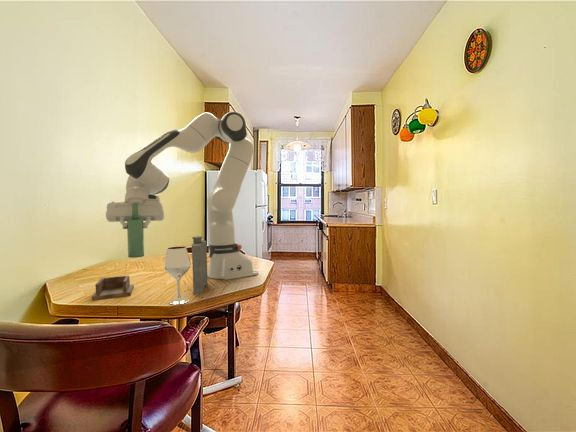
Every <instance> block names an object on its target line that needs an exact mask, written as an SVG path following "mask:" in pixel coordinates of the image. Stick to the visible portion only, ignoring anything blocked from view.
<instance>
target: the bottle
mask: <svg viewBox="0 0 576 432" xmlns="http://www.w3.org/2000/svg"><path fill="white" fill-rule="evenodd" d="M143 222H144V221H143V219H138V204H132V220H127V221H126V223H127V229H126V230H127V231H126V233H127V258H132V259H134V258H135V259H136V258H143V257H145V237H144V236H145V235H144V234H145V232H144V229H145V228H143Z"/></svg>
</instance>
